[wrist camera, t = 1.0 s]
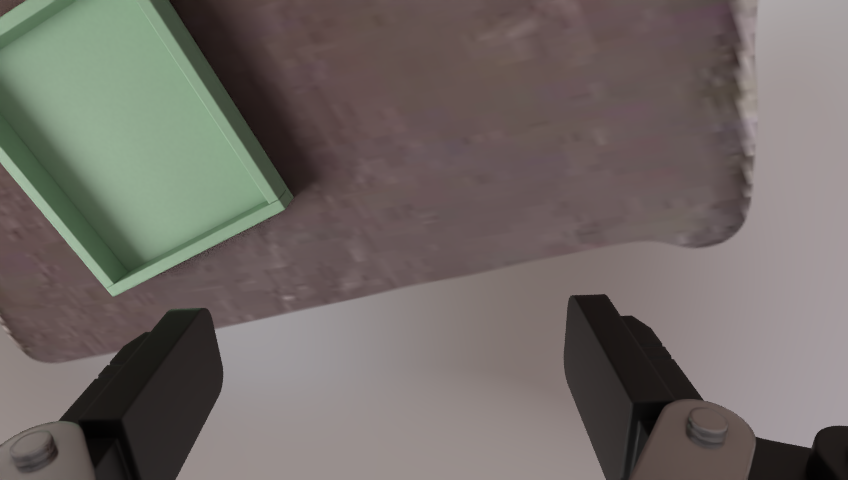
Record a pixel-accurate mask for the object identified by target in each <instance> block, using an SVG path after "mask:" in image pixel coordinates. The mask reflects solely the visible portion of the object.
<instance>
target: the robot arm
mask: <svg viewBox="0 0 848 480" xmlns="http://www.w3.org/2000/svg"><path fill="white" fill-rule="evenodd" d="M564 369H565V375H566V380H567V383H568V386H569V388H570V390H571V393H572V396H573V398H574V401H575V403H576V406H577V408H578V411H579V413H580V416H581V418H582V421H583V423H584V426H585V428H586V431H587V433H588V436H589V438H590V441H591V443H592V446H593V448H594V451H595V453H596V456H597V458H598V461H599V463H600V466H601V468H602V470H603V473H604V476H605V478H606V480H848V426H831V427H827V428H824V429H822V430H820V431H819V432H818V433H817V435H816V437H815V439H814V442H813V445H812V448H807V447H802V446H797V445H791V444H786V443H780V442H775V441H770V440H766V439H762V438H758V437H755V435H754V432H753V430H752V429H751V428H750V426H749V425H748V424H747V423H746V422H745V421H744V420H743V419H742V418H741V417H739V416H738V415H737V414H735V413H734V412H732V411H730V410H728V409H726V408H724V407H722V406H720V405H717V404H714V403H711V402H708V401H704V400H703V399H702V398H701V396H700V395H699V393H698V392H697V391H696V389H695V388H694V387H693V385H692V384H691V382H690V381H689V380H688V378H687V377H686V375H685V374H684V373H683V371H682V370H681V369H680V367H679V366H678V365H677V363H676V362H675V361H674V359H671V355H670V354H669V352H668V351H667V350H666V348H665V347H662V343H661V341H660V340H659V339H658V337H657V336H656V335H655V333H654V332H653V331H652V329H651V328H650V327H648V326H646V325H645V324H644V323H642V322H641V321H639V320H638V319H636V318H635V317H633V316H620V314H619V313H618V311H617V310H616V309H615V307H614V305H613V304H612V302H611V301H610V299H609V298H608V297H607V296H606V295H605V294H601V295H572V296H570V298H569V301H568V308H567V321H566V333H565V347H564ZM98 376H99V377H98V379H95V380H94V381H93V382H92V383H91V384H90V385H89V387H88V388H87V389H86V390H85V391H84V392H83V393H82V395H81V396H80V397H79V398H78V399H77V400H76V401H75V403H74V404H73V405H72V406H71V407H70V408H69V409H68V411H67V412H66V413H65V414H64V415H63V416H62V417H61V418H60V420H59V421H56V422H50V423H45V424H41V425H38V426H35V427H32V428H29V429H27V430H25V431H23V432H21V433H19V434H17V435H15V436H13V437H12V438H10V439H8V440H7V441H5V442H4V443H3V444H1V445H0V480H175V479H176V477H177V476H178V474H179V472H180V470H181V468H182V466H183V464H184V462H185V460H186V458H187V456H188V454H189V453H190V451H191V448H192V447H193V445H194V443H195V441H196V439H197V437H198V435H199V433H200V431H201V429H202V427H203V425H204V424H205V422H206V420H207V418H208V416H209V414H210V412H211V410H212V408H213V406H214V404H215V402H216V400H217V398H218V396H219V394H220V392H221V388H222V383H223V366H222V361H221V357H220V352H219V348H218V343H217V339H216V334H215V330H214V325H213V321H212V317H211V314H210V312H209V311H208V309H206V308H190V309H171V310H169V311H168V312H167V313H166V314H165V315H164V316H163V318H162V319H161V320H160V321H159V322H158V324H157V325H156V326H155V327H154V328H153V330H152V331H151V332H145V333H143V334H142V335H140V336H139V337H137V338H136V339H134V340H133V341H131V342H130V343H128V344H127V345H125V346H124V347H123V348H122V349H121V350H120V351H119V352H118V353H117V355H116V356H115V357H114V358H113V359H112V360H111V362H110V365H107V366H106V367H105V368H104V369H103V371H102V372H101V373H100V374H99V375H98Z"/></svg>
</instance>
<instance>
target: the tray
mask: <svg viewBox="0 0 848 480" xmlns="http://www.w3.org/2000/svg"><path fill="white" fill-rule="evenodd" d="M0 162H1V164H2V165H3V166H4V167H5V168H6V170H7V171H8V172H9V173H10V174H11V176H12V177H13V178H14V179H15V180H16V182H17V183H18V184H19V185H20V186H21V188H22V189H23V190H24V191H25V192H26V194H27V195H28V196H29V197H30V198H31V200H32V201H33V202H34V203H35V204H36V206H37V207H38V208H39V209H40V210H41V212H42V213H43V214H44V215H45V216H46V218H47V219H48V220H49V221H50V222H51V224H52V225H53V226H54V227H55V228H56V230H57V231H58V232H59V233H60V234H61V236H62V237H63V238H64V239H65V240H66V242H67V243H68V244H69V245H70V246H71V247H72V249H73V250H74V251H75V252H76V253H77V255H78V256H79V257H80V258H81V259H82V261H83V262H84V263H85V264H86V265H87V267H88V268H89V269H90V270H91V271H92V273H93V274H94V275H95V276H96V277H97V279H98V280H99V281H100V282H101V283H102V285H103V286H104V287H105V288H106V289H107V290H108V292H109V293H110V294H111V295H112V296H113V297H114V296H116V295H118V294H120V293H122V292H124V291H126V290H128V289H130V288H132V287H134V286H136V285H138V284H140V283H142V282H144V281H146V280H148V279H150V278H152V277H154V276H156V275H158V274H160V273H161V272H163V271H165V270H167V269H169V268H171V267H173V266H175V265H177V264H179V263H181V262H183V261H185V260H187V259H189V258H191V257H193V256H195V255H197V254H199V253H201V252H203V251H205V250H207V249H209V248H211V247H213V246H215V245H216V244H218V243H220V242H222V241H224V240H226V239H228V238H230V237H232V236H234V235H236V234H238V233H240V232H242V231H244V230H246V229H248V228H250V227H252V226H254V225H256V224H258V223H260V222H262V221H264V220H266V219H268V218H270V217H272V216H273V215H275V214H277V213H279V212H281V211H283V210H285V209H286V208H287V206H288V205H289V203H290V202H291V200H292V199H293V198H294V197H293V195H292V194H291V192H290V191H289V189H288V188H287V186H286V184H285V183H284V181H283V180H282V178H281V177H280V175H279V173H278V172H277V170H276V169H275V167H274V165H273V164H272V162H271V161H270V159H269V158H268V156H267V154H266V153H265V151H264V150H263V148H262V147H261V145H260V143H259V142H258V140H257V139H256V137H255V136H254V134H253V132H252V131H251V129H250V128H249V126H248V125H247V123H246V121H245V120H244V118H243V117H242V115H241V114H240V112H239V110H238V109H237V107H236V106H235V104H234V102H233V101H232V99H231V98H230V96H229V95H228V93H227V91H226V90H225V88H224V87H223V85H222V84H221V82H220V80H219V79H218V77H217V76H216V74H215V73H214V71H213V69H212V68H211V66H210V65H209V63H208V62H207V60H206V58H205V57H204V55H203V54H202V52H201V50H200V49H199V47H198V46H197V44H196V43H195V41H194V39H193V38H192V36H191V35H190V33H189V32H188V30H187V28H186V27H185V25H184V24H183V22H182V21H181V19H180V17H179V16H178V14H177V13H176V11H175V10H174V8H173V6H172V5H171V3H170V2H169V0H26V1H25V2H23V3H21V4H20V5H18V6H17V7H15V8H14V9H12V10H11V11H9V12H8V13H6V14H5V15H3V16H1V17H0Z"/></svg>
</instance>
